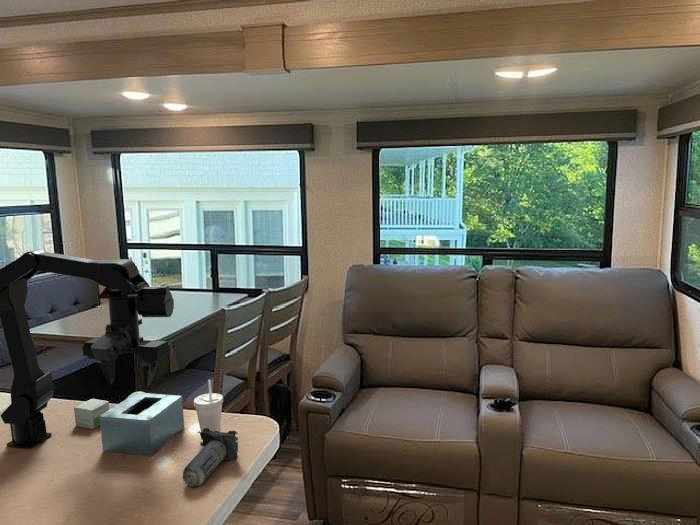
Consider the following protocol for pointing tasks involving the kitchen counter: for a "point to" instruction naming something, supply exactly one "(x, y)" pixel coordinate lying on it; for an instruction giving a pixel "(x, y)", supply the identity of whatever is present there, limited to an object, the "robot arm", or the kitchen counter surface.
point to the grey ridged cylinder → (210, 455)
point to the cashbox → (142, 424)
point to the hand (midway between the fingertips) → (129, 385)
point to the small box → (90, 413)
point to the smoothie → (209, 410)
